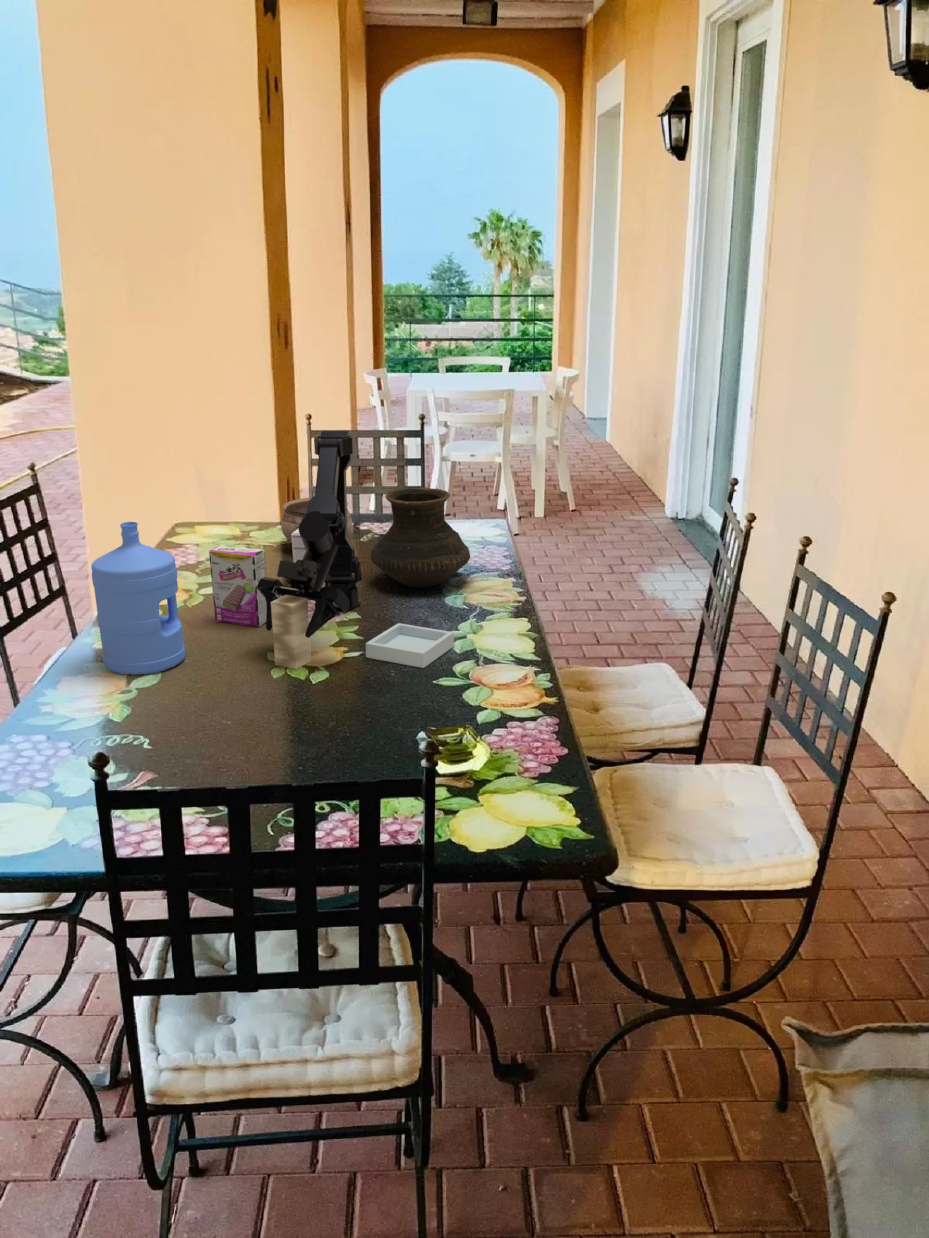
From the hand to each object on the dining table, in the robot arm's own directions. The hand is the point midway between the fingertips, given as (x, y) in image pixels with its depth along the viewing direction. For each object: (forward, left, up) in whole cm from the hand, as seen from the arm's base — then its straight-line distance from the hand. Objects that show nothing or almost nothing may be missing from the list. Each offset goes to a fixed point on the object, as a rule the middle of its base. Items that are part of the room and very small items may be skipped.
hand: (287, 633), depth 202 cm
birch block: (0, +1, -7) cm, 7 cm away
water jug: (-27, -11, -7) cm, 30 cm away
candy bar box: (-24, +16, -7) cm, 30 cm away
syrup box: (-24, +42, -7) cm, 49 cm away
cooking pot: (-42, +72, -7) cm, 84 cm away
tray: (+18, +16, -7) cm, 25 cm away
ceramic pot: (-2, +57, -7) cm, 58 cm away
